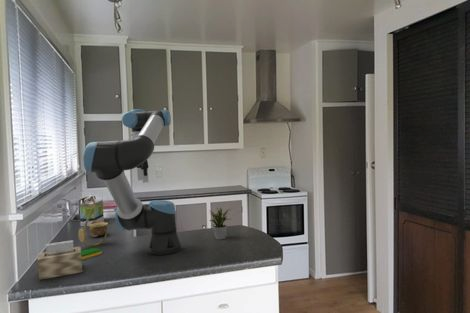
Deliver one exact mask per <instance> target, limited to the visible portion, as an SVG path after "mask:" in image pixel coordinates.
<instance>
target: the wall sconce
mask: <svg viewBox="0 0 470 313" xmlns="http://www.w3.org/2000/svg"><path fill="white" fill-rule="evenodd" d="M88 201H93V203H94V207H93V209H92V211H91V213H90V214H89V216H88V218H87V220H86V223H85V226H83V228H79V229H78V240H79V241H80V242H81V243H84V242H85V243H86V244H87V245H88V246H92V247H96V246H97V247H98V246H100V245H102V244H103V243H104V242H105V241H106V239H107V238H108V237H107V236H108V230H107V231H106V229H105V227H103V226H105V225H107V226H108V223H109V222H105V221H103V222H101V223H94V224H90V225H89V226H87V223H88V220H89V218H90V216H91V215H92V213H93V211H94V209H95V206H96V203H95V201H96V200H94V198H92V197H88V198H86V199H84V200H83V202H82V203H83V204H84V206H88V205H89V203H88V204H87V205H86V204H85V202H88ZM87 227H89V228H90V227H95V228H94V229H93V230H92V231H91V233H90V234H91V237H93V238H96V236H98V235H93V231H94V230H95V229H98V231H97V232H98V233H100V231H101V230H99V229H100V228H103V229H104V231H105V234H104V238H103V240H101V241H100V242H98V243H90V242H89V241H88V239H87V236H88V234H87V232H86V229H87Z"/></svg>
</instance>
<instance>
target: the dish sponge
mask: <svg viewBox="0 0 470 313" xmlns="http://www.w3.org/2000/svg"><path fill="white" fill-rule="evenodd" d="M102 253H103V252H102V249H100V248H96V247H91V248H87V249H84V250H81V259H82V261H83V260H85V259H89V258H93V257H96V256H99V255H101V254H102Z"/></svg>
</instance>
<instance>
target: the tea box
mask: <svg viewBox="0 0 470 313" xmlns="http://www.w3.org/2000/svg"><path fill="white" fill-rule="evenodd" d="M94 201H95V203H96V206H95V209H94V211H93V213H92V215H91V216H90V218H89V220H88V223H87V226H86V227H89V225H90V224H91V223H92V222H93V221H103V222H105V219H104V218H105V217H104V202H103V199H101V200H94ZM83 203H84V202H82V203H80V204H79V219H80V227H84V226H85V223H86V220H87V218H88V216H89V214H90V213H91V211H92V209H93V207H94V203H93V201H92V200H87V201H86V202H85V204H86V205H87V204H88V203H89V205H88V206H84V204H83Z"/></svg>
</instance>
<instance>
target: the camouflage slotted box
mask: <svg viewBox="0 0 470 313" xmlns="http://www.w3.org/2000/svg"><path fill="white" fill-rule="evenodd" d="M81 251H82V248H81V245H80V246H74V252H70V253H64V254H57V255H51V256H47V252H46V251H43V252H39V253H38V257H37V270H38V280H39V281H41V280H46V279H51V278H56V277H62V276H67V275H74V274H80V273H82V272H83V263H82V261H83V260H82V259H81Z"/></svg>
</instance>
